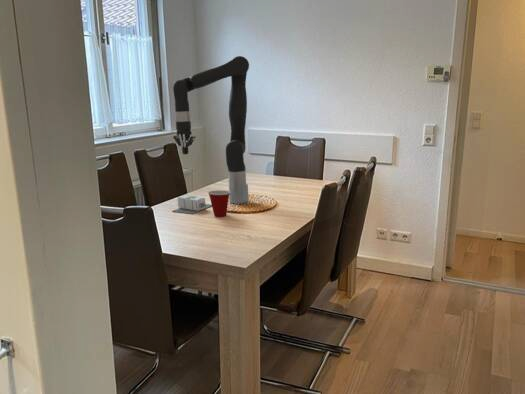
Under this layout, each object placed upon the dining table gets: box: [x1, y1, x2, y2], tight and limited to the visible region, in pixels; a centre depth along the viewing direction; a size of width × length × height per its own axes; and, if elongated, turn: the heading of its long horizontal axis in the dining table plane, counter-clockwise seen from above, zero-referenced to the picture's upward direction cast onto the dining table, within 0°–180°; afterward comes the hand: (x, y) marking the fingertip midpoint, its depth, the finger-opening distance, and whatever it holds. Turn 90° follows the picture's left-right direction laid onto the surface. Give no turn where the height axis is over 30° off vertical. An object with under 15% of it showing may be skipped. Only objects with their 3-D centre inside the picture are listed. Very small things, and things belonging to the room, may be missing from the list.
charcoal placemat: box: [172, 203, 212, 215], centre depth 248 cm, size 13×18×1 cm
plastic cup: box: [207, 190, 231, 218], centre depth 232 cm, size 11×11×12 cm
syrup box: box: [177, 194, 207, 212], centre depth 247 cm, size 6×6×14 cm
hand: (185, 154), depth 248 cm, fingers closed
